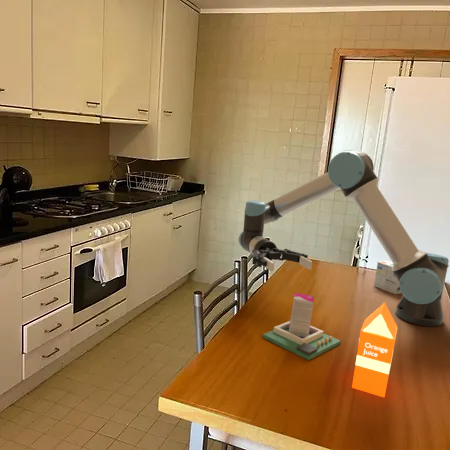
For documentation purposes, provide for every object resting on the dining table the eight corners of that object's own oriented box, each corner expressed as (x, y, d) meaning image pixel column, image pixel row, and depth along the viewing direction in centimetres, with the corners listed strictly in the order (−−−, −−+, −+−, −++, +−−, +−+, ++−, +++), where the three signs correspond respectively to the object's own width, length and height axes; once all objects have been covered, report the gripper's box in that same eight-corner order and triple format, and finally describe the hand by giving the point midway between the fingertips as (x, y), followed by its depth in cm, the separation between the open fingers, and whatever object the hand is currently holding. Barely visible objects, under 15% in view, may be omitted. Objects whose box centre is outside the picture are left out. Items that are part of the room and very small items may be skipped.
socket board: (340, 343, 128) (341, 335, 128) (308, 360, 117) (309, 351, 117) (295, 324, 139) (296, 316, 139) (262, 337, 128) (263, 329, 128)
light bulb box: (405, 292, 179) (410, 267, 177) (395, 295, 175) (399, 269, 173) (383, 284, 188) (387, 259, 186) (373, 286, 184) (377, 261, 182)
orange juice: (388, 380, 111) (401, 305, 107) (384, 397, 103) (399, 317, 99) (356, 371, 114) (368, 297, 110) (350, 387, 106) (363, 309, 102)
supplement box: (308, 339, 127) (313, 302, 125) (287, 336, 128) (292, 299, 126) (308, 331, 132) (313, 295, 130) (289, 328, 134) (293, 292, 131)
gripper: (292, 258, 164) (324, 276, 145) (230, 260, 155) (255, 279, 136) (294, 238, 163) (327, 253, 143) (231, 239, 154) (257, 256, 134)
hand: (292, 266), depth 139 cm, fingers open, 13 cm apart
